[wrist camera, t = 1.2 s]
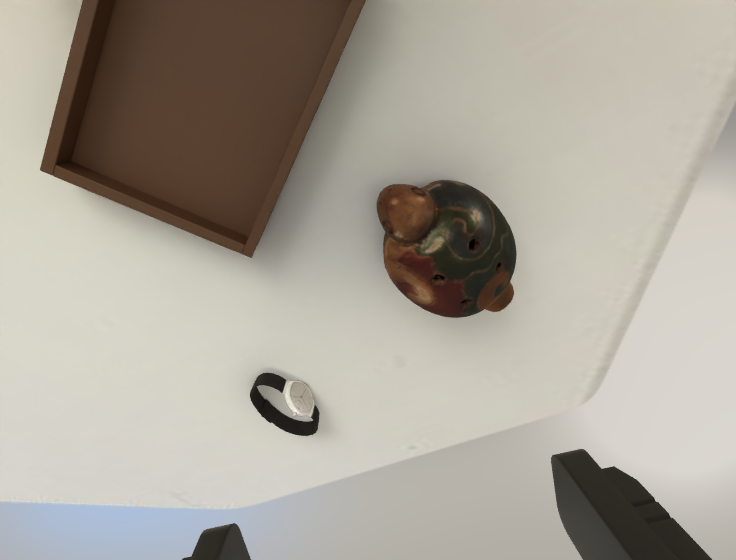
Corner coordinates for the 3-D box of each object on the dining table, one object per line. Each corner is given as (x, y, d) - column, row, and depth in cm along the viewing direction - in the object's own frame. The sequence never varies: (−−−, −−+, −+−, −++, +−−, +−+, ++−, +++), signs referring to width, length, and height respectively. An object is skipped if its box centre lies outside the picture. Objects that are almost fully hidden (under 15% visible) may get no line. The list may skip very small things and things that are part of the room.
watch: (331, 404, 41) (333, 431, 38) (295, 431, 42) (294, 459, 38) (276, 356, 38) (273, 380, 35) (239, 386, 39) (232, 412, 35)
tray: (60, 165, 30) (39, 170, 27) (149, -165, 24) (131, -195, 21) (255, 247, 34) (251, 258, 32) (371, -16, 28) (377, -27, 26)
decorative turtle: (397, 132, 32) (435, 139, 25) (521, 236, 38) (581, 267, 31) (325, 233, 34) (341, 268, 26) (454, 318, 40) (496, 365, 32)
